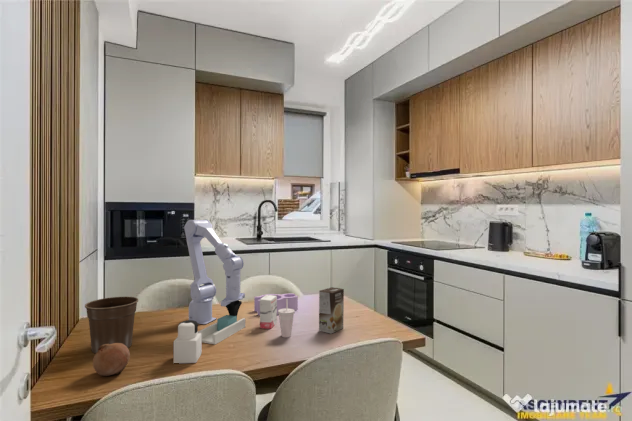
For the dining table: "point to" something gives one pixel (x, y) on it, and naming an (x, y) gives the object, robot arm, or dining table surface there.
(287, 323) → the smoothie
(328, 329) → the coffee box
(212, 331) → the chute
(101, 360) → the brown rounded lump
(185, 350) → the medicine bottle
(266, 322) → the ink box
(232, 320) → the block
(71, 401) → the dining table surface
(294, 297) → the purple cup holder
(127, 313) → the plant pot
